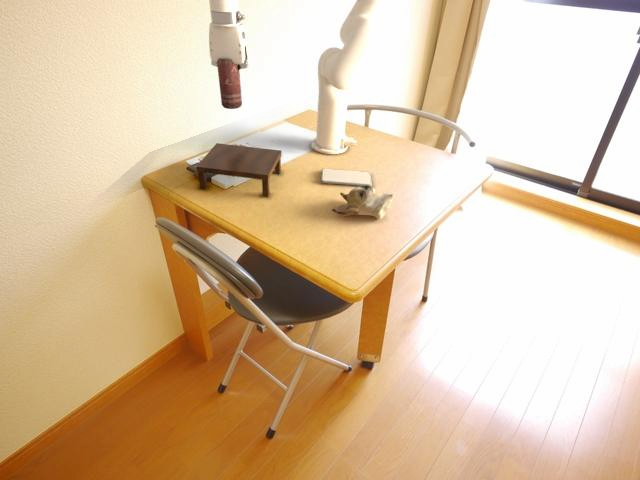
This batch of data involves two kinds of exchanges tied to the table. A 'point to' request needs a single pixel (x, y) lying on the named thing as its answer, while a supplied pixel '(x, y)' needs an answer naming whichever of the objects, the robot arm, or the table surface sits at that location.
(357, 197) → the ceramic sculpture
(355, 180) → the smartphone
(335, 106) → the robot arm
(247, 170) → the side table
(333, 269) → the table surface
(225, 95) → the can
